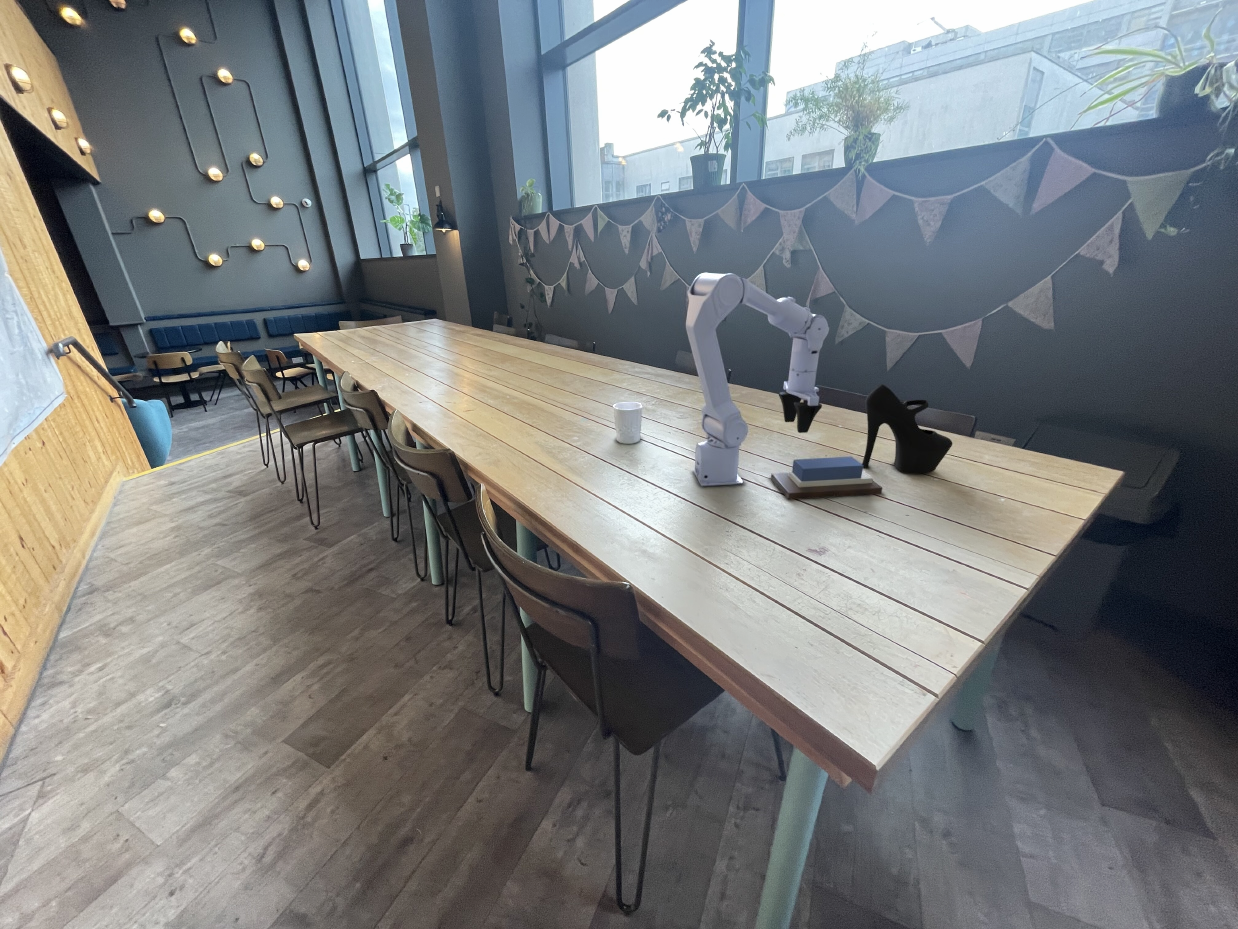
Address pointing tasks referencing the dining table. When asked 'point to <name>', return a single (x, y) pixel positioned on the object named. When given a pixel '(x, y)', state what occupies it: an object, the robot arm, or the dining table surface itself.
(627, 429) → the white cup
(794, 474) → the blue and white eraser
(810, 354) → the robot arm
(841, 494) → the shoe shelf
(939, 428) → the dining table surface
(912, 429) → the high-heeled shoe
